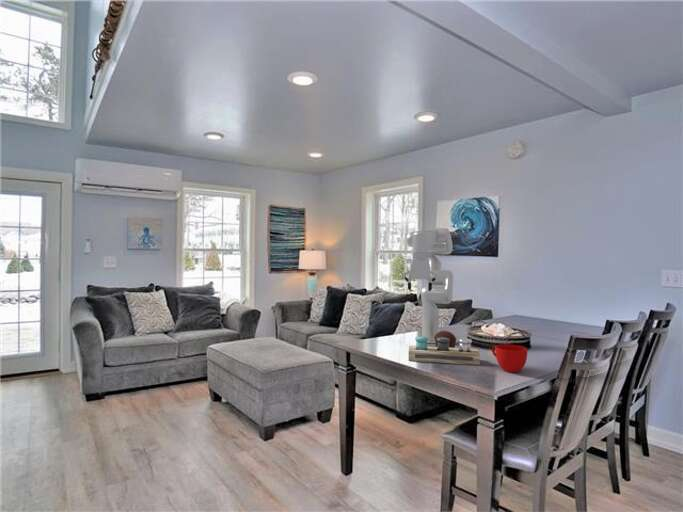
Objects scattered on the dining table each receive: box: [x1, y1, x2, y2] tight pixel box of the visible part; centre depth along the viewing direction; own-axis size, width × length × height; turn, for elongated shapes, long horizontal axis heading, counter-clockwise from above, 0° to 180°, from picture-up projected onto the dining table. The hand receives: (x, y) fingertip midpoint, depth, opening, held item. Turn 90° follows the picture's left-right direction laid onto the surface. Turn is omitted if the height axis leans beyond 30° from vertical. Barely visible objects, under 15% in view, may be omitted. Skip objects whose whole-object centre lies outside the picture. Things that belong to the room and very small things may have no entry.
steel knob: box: [458, 337, 473, 352], centre depth 197 cm, size 6×6×6 cm
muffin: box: [434, 330, 457, 348], centre depth 218 cm, size 12×11×10 cm
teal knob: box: [414, 335, 428, 350], centre depth 201 cm, size 6×6×6 cm
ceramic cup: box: [491, 343, 528, 373], centre depth 184 cm, size 13×17×10 cm
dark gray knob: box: [437, 337, 450, 351], centre depth 199 cm, size 6×6×6 cm
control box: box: [408, 345, 481, 366], centre depth 199 cm, size 10×32×5 cm, turn 79°
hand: (419, 290), depth 209 cm, fingers open, 9 cm apart
